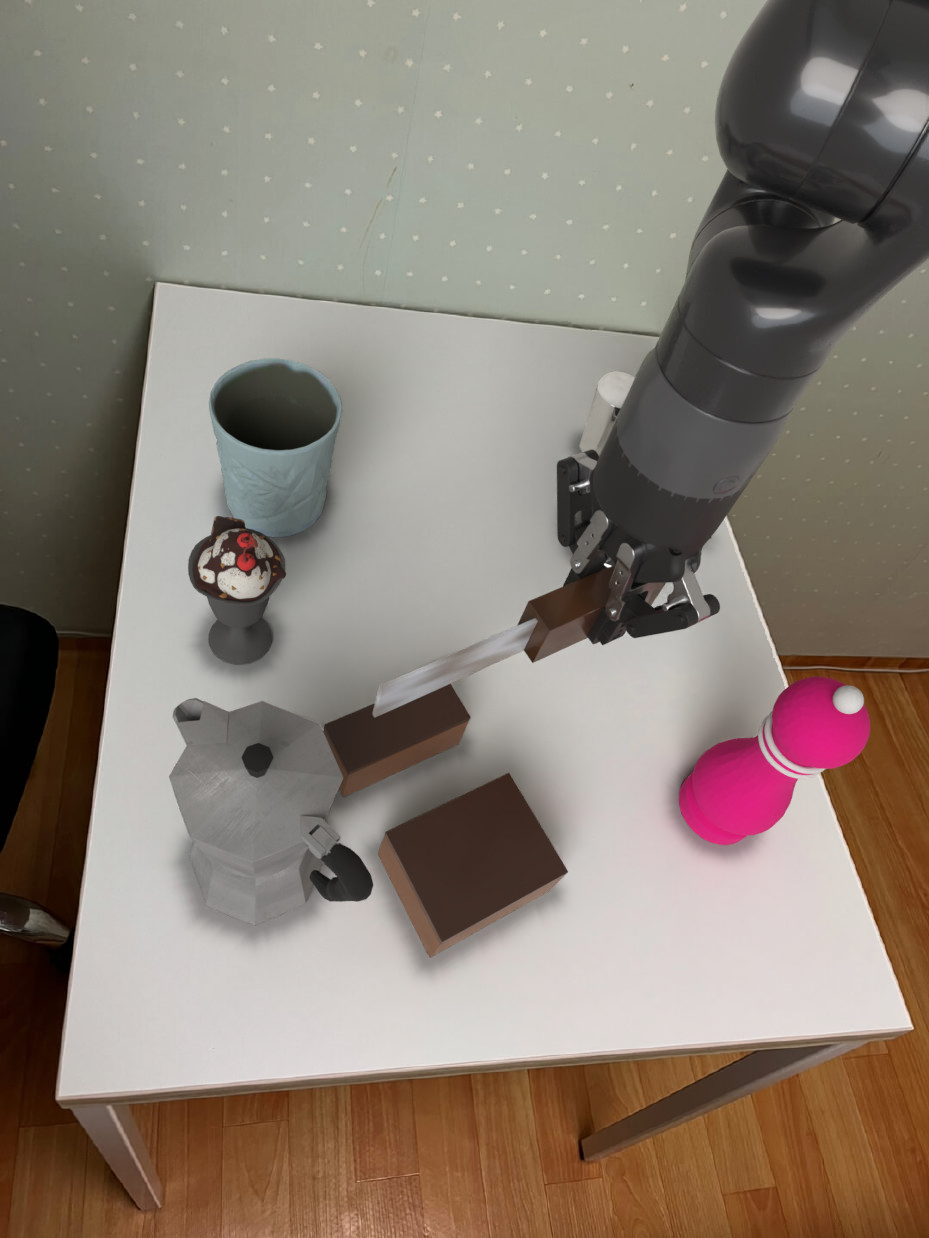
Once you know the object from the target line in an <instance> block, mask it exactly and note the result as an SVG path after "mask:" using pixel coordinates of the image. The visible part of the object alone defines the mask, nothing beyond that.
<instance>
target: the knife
mask: <svg viewBox="0 0 929 1238" xmlns="http://www.w3.org/2000/svg"><path fill="white" fill-rule="evenodd" d="M614 568H615V565H613V566H611V567H608V568H606V569H604V570H601V571H599V572H597V573H594V574H592V575H589V576H587V577H585V578H582V579H580V580H578V581H575V582H573V583H570V584H568V585H566V586H563V585H562V586H561V587H558V588H556V589H554V590H552V591H549V592H547V593H545V594H542V595H540V596H537V597H535V598H532V599H531V600H528V601H527V603H526V605H525V607H524V609H523V611H522V614H521V616H520V618H519V621H518V622H517V625H516V626H513V627H511V628H509V629H506V630H503V631H501V632H500V633H497V634H495V635H492V636H490V637H488V638H486V639H483V640H481V641H478V642H475V643H474V644H472V645H469V646H467V647H465V648H462V649H460V650H458V651H456V652H453V653H452V654H449V655H446V656H444V657H441V658H439V659H437V660H435V661H433V662H430V663H427V664H425V665H423V666H421V667H418V668H416V669H414V670H412V671H410V672H407V673H405V674H402V675H400V676H397V677H396V678H393V679H390V680H388V681H386V682H384V683H382V684H379V685H378V688H377V691H376V697H375V701H374V703H375V705H374V709H373V713H372V714H373V716H374V718H375V717H377V716H380V715H382V714H384V713H386V712H388V711H391V710H393V709H395V708H397V707H400V706H402V705H404V704H406V703H408V702H411V701H413V700H415V699H417V698H420V697H422V696H424V695H426V694H428V693H431V692H433V691H435V690H437V689H440V688H442V687H444V686H446V685H448V684H451V685H452V684H453V683H455V682H457V681H459V680H463V679H464V678H466V677H468V676H471V675H474V674H475V673H477V672H479V671H482V670H484V669H486V668H489V667H490V666H493V665H495V664H497V663H500V662H502V661H504V660H506V659H509V658H511V657H512V656H515V655H517V654H520V653H522V652H524V654H525V655H526V656H527V658H528V659H529V660H530V662H531V663H532V664H534V663H536V662H538V661H541V660H542V659H545V658H547V657H549V656H551V655H553V654H556V653H558V652H560V651H562V650H565V649H567V648H569V647H571V646H573V645H576V644H578V643H580V642H582V641H585V640H586V639H588V637H587V635H588V633H589V631H590V629H591V628H592V626H593V624H594V622H595V621H596V619H597V617H598V615H599V614H600V612H601V610H602V609H603V608H605V606H606V603H607V601H608V598H609V595H610V593H611V590H610V589H609V588H608V584H609V582H610V579H611V576H612V574H613V571H614ZM666 584H667V583H660V584H659V585H658V586H657V587H656V588H655V589H654V590H653V593H652V595H651V597H650V599H649V602H648V604H650V605H651V606H652V605H653V603H654V602H655V600H656V599H657V598H658V596H659V595H660V593H661V592H662V591H663V589H664V588H665V586H666Z"/></svg>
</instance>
